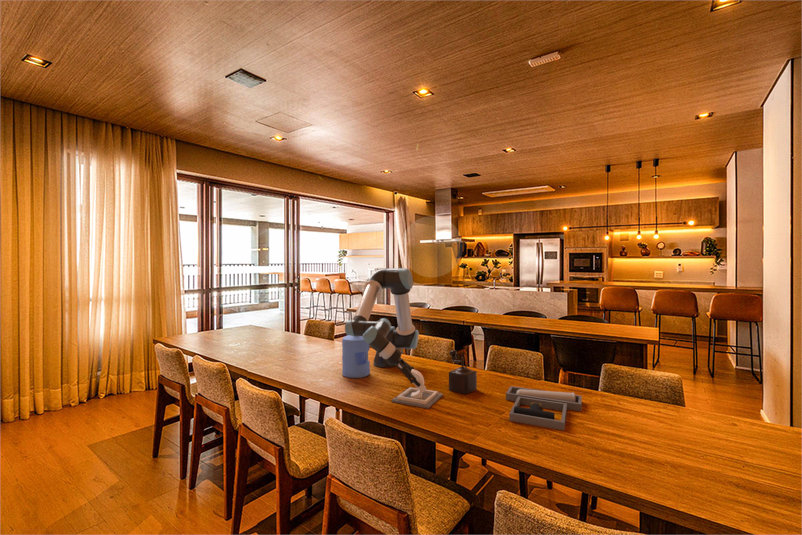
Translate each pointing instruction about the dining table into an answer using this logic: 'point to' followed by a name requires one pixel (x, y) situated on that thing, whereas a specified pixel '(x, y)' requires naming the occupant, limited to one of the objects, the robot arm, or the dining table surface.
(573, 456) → the dining table surface
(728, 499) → the dining table surface
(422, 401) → the coaster board
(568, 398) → the tube
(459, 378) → the pepper mill
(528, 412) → the pipe connector
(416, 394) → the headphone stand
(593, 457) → the dining table surface
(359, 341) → the water jug
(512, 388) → the tube rest frame
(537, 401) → the connector rest frame
